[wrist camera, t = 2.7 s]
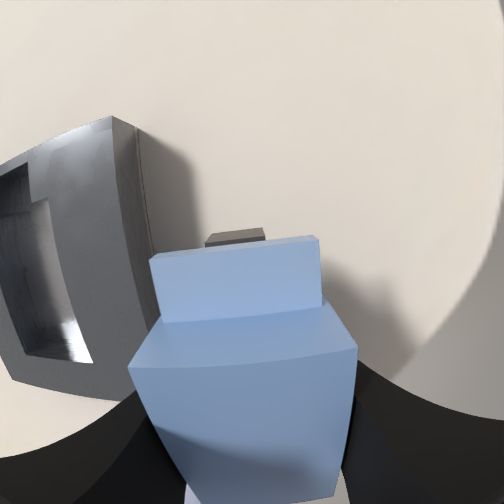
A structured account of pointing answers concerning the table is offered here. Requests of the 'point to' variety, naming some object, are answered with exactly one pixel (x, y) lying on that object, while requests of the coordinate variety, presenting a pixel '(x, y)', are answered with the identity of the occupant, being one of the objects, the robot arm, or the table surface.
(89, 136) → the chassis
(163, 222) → the table surface
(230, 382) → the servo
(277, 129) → the table surface
